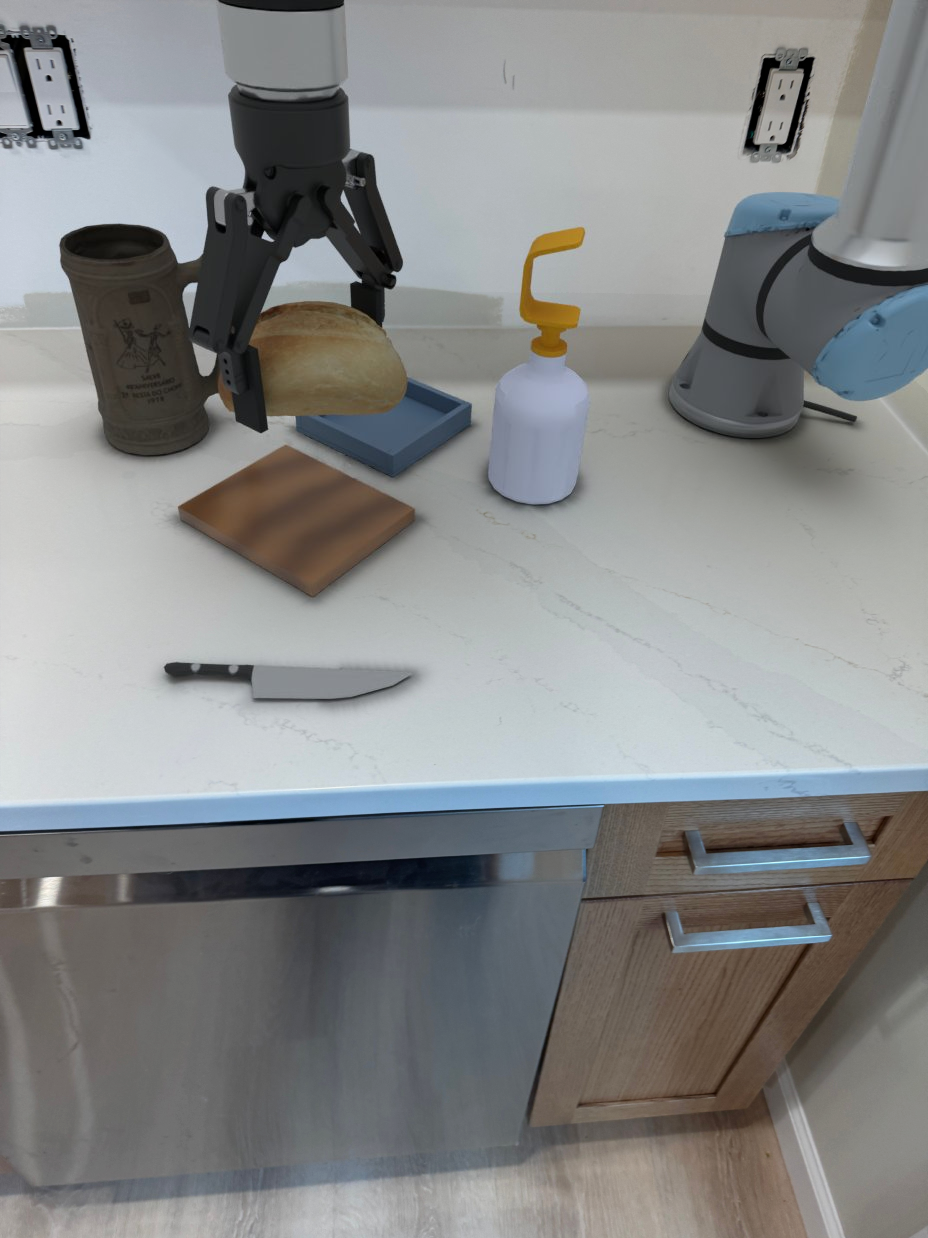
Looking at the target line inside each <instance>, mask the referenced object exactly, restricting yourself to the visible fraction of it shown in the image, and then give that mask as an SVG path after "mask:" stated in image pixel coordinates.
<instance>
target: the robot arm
mask: <svg viewBox="0 0 928 1238" xmlns="http://www.w3.org/2000/svg"><path fill="white" fill-rule="evenodd" d="M215 2H216V9H217V19H218V26H219V34H220V41H221V48H222V49H221V50H222V55H223V56H222V57H223V65H224V72H225V75H226V76H227V78H228V79H230V81H231V82H234V83H235V85H233V86H232V87H231V89H230V91H229V93H228V94H227V99H228V107H229V113H230V114H229V115H230V122H231V130H232V138H233V145H234V148H235V150H236V152H237V154H238V157H239V158H240V160H241V162H242V164H243V167H244V179H243V184H242V188H236V189H229V190H228V189H227V190H226V189H224V188H220V187H218V186H213V185H212V186H209V187H208V188H207V190H206V192H205V205H206V206H205V207H206V220H207V228H206V234H205V240H204V244H203V250H202V254H203V256H202V261H201V267H200V272H199V278H198V283H196V290H195V296H194V301H193V307H192V311H191V318H190V323H189V334H188V337H189V340H190V341H191V342H192V343H193V345H194V344H195V345H197V346H199V347H200V348H203V349H205V350H207V351H210V352H212V353H215V354H216V355H217V354H218V358H219V364H220V370H221V375H222V382H223V385H224V386H225V388H226V389H228V390H230V391H231V393H232V400H233V406H234V412H233V413H234V417H235V422H236V423H238V424H240V425H243V426H244V427H246V428H249V429H251V430H253V431H255V432H257V433H258V434H263V433H265V432H267V431H268V430H269V424H268V416H267V415H266V408H265V400H264V392H263V385H262V377H261V369H260V362H259V354H258V348H255V347H253V346H251V345H249V342H250V339H251V336H252V334H253V331H254V329H255V326H256V324H257V321H258V319H259V316H260V314H261V313H262V312H263V308H264V306H265V303H266V301H267V298H268V295H269V294H270V291H271V289H272V286H273V283H274V281H275V278H276V275H277V273H278V271H279V268H280V265H281V264H282V263H284V262H286V261H288V260H289V257H290V256H291V253H292V250H293V248H294V249H297V248H299V247H302V246H304V245H305V244H306V243H308V242H309V241H310V240H320V239H322V238H325V237H326V239H327V240H328V241H329V242H330V243H331V245H332V246H333V248H334V249H335V250H336V251H337V253H338V254H339V255H340V256H341V258H342V259H343V260H344V261H345V263H346V265H347V266H348V267H349V268H350V269H351V270H352V271H353V273H354V275H355V276H356V277H357V278H358V279H359V280H361V282H360V281H358V280H355V281H353V282H351V283H349V291H350V307H352V308H354V309H357V310H359V311H361V312H362V313H364V314H366V315H368V316H369V317H370V318H371V319H373V320H374V321H375V322H376V324H377V325H379V326H380V327H381V328H383V323H384V322H385V318H386V309H385V308H386V304H385V303H386V296H385V295H386V293H385V292H386V290H393V289H394V288H395V287H396V284H397V280H398V279H397V276H396V274H393V273H400V272H401V271H402V269H403V267H404V261H403V260H404V259H403V256H402V254H401V251H400V248H399V244H398V241H397V239H396V237H395V234H394V230H393V228H392V224H391V222H390V220H389V216H388V214H387V211H386V207H385V205H384V202H383V200H382V196H381V193H380V191H379V187H378V184H377V183H378V181H377V171H376V161H375V160H376V159H375V157H374V155H373V154H370V153H368V152H364V151H360V150H356V149H353V148H351V129H350V105H349V102H350V101H349V96H348V94H347V93H346V92H345V90H344V89H343V88H342V87H340V86H342V85H344V83H345V82H346V81H347V79H348V78H349V67H348V66H349V65H348V45H347V28H346V27H347V26H346V6H345V5H346V3H345V0H215ZM879 47H880V48H879V51H878V54H877V59H876V63H875V66H874V70H873V73H872V78H871V82H870V85H869V89H868V93H867V95H866V100H865V104H864V107H863V112H862V115H861V118H860V122H859V126H858V129H857V134H856V136H855V137H856V138H855V141H854V145H853V148H852V152H851V156H850V160H849V163H848V168H847V170H846V175H845V179H844V183H843V186H842V190H841V193H840V197H839V198H837V197H833V196H827V195H824V194H823V195H822V194H816V193H808V192H807V193H806V192H791V191H771V192H770V191H769V192H759V193H755V194H751V195H748V196H746V197H744V198H743V199H741V200H740V201H739V202H738V203H737V204H736V206H735V207H734V209H733V212H732V215H731V217H730V220H729V223H728V225H727V228H726V230H725V232H724V234H723V238H724V240H723V244H722V248H721V253H720V257H719V260H718V264H717V269H716V272H715V276H714V280H713V284H712V288H711V291H710V295H709V299H708V303H707V307H706V311H705V315H704V317H703V318H704V319H703V323H702V326H701V330H700V332H699V334H698V336H697V337H696V339H695V341H694V343H693V344H692V346H691V347H690V348H689V350H688V351H687V353H686V354H685V356H684V357H683V359H682V361H681V363H680V365H679V366H678V367H677V369H676V371H675V372H674V374H673V375H672V380H671V383H670V387H669V391H668V398H669V402H670V403H671V406H672V407H673V409H675V411H676V412H678V414H679V415H681V416H682V417H684V418H685V419H686V420H688V421H689V422H691V423H692V424H695V425H697V426H698V427H700V428H703V429H705V430H709V431H711V432H713V433H718V434H722V435H724V436H731V437H736V438H746V439H762V438H763V439H764V438H771V437H776V436H779V435H782V434H784V433H787V432H789V431H790V430H792V429H793V428H794V427H795V426H796V425H797V423H798V421H799V418H800V416H801V414H802V410H803V408H806V409H808V410H812V411H816V412H819V413H822V414H826V415H830V416H832V417H835V418H839V419H842V420H845V421H849V422H851V423H856V421H857V419H858V416H857V415H854V414H851V413H848V412H845V411H842V410H840V409H839V410H838V409H836V408H832V407H830V406H825V405H822V404H818V403H816V402H812V401H808V400H805V399H804V398H805V372H807V374H809V375H810V376H812V378H813V379H814V382H815V383H816V384H817V385H819V386H821V387H823V388H827V389H829V390H830V391H831V392H833V393H834V394H835V395H836V396H838V397H840V398H841V399H844V400H847V401H852V402H869V401H873V400H877V399H880V398H881V399H882V398H884V397H886V396H889V395H891V394H894V393H896V392H897V391H899V390H901V389H903V388H905V387H906V386H908V385H909V384H911V382H913V381H914V380H916V379H917V378H918V377H919V376H921V375H923V374H924V373H925V372H926V371H927V370H928V0H892V3H891V7H890V10H889V14H888V18H887V22H886V25H885V29H884V33H883V36H882V40H881V44H880V46H879ZM343 194H344V195H345V198H346V200H347V201H346V202H347V203H348V205H349V208H350V211H351V213H350V211H349V210H348V209H347V208H346V206H345V204H344V202H342V195H343ZM355 224H356V226H357V227H356V226H355ZM264 233H265V234H266V235H267V236H268V238H270V239H271V240H267V239H264V238H263V236H264ZM232 326H234V332H232V331H231V329H232Z"/></svg>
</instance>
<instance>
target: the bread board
mask: <svg viewBox="0 0 928 1238" xmlns="http://www.w3.org/2000/svg"><path fill="white" fill-rule="evenodd" d="M177 510H178V515H179V519H180V520H181V521H183V522H184V523H186V524H188V525H189V526H191V527H192V528H194V529H196V530H198V531H199V532H201V533H203V534H204V535H206V536H207V537H210V538H211V539H212V540H214V541H217V542H218V543H220V544H221V545H223V546H225V547H227V548H228V549H230V550H232V551H233V552H235V553H237V554H239V555H240V556H242V557H244V558H245V559H247V560H249V561H250V562H252V563H253V564H256V565H257V566H259V567H261V568H262V569H264V570H266V571H268V572H269V573H271V574H272V575H274V576H276V577H278V578H280V579H281V580H283V581H284V582H286V583H288V584H290V585H292V586H293V587H295V588H296V589H298V590H300V591H301V592H303V593H305V594H307V595H308V596H310V597H311V598H314V597H315V596H316V595H318V594H319V593H321V592H322V591H323V590H324V589H326V588H327V587H329V586H330V585H331V584H333V583H334V582H335V581H337V580H338V579H340V577H342V576H343V575H345V574H346V573H348V572H349V571H350V570H351V569H353V568H355V566H357V565H358V564H359V563H360V562H362V561H363V560H364V559H365V558H367V557H368V556H370V555H371V554H372V553H374V552H375V551H376V550H377V549H379V548H380V547H382V546H383V545H385V543H387V542H389V541H390V540H391V539H392V538H394V537H395V536H397V535H398V534H399V533H401V531H403V530H404V529H406V528H407V527H408V526H410V525H411V524H412V523H414V522H415V521H416V520H415V517H416V516H415V515H416V512H415V511H416V509H415V508H414V506H411V505H409V504H407V503H405V502H403V501H401V500H399V499H397V498H394V497H393V496H390V495H389V494H387V493H385V492H383V491H381V490H379V489H376V488H374V487H373V486H370V485H369V484H366V483H364V482H363V481H361V480H359V479H356V478H354V477H353V476H350V475H349V474H346V473H344V472H342V471H340V470H339V469H337V468H335V467H332V466H331V465H328V464H327V463H324V462H322V461H320V460H318V459H316V458H314V457H312V456H310V455H308V454H306V453H304V452H302V451H300V450H298V449H296V448H294V447H292V446H290V445H288V444H284V445H282V446H281V447H278V448H277V449H275V450H274V451H272V452H270V453H268V454H267V455H265V456H263V457H262V458H260V459H258V460H256V461H254V462H252V463H251V464H249V465H247V466H245V467H243V468H242V469H241V470H239V471H237V472H235V473H234V474H232V475H230V476H228V477H226V478H225V479H223V480H221V481H220V482H218V483H216V484H214V485H213V486H211V487H210V488H208V489H206V490H204V491H202V492H201V493H198V494H197V495H196V496H194V497H192V498H190V499H188V500H187V501H184V502H183V503H181V504H179V505H178V506H177Z"/></svg>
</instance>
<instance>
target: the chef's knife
mask: <svg viewBox="0 0 928 1238" xmlns="http://www.w3.org/2000/svg"><path fill="white" fill-rule="evenodd" d="M163 669H164V672H165V674H168V676H171V677H173V678H180V677H188V676H189V677H190V676H215V677H225V678H233V679H234V678H235V679H247V680H249V681H250V682H251V691H252V692H251V693H252V699H305V700H307V699H309V700H311V699H312V700H313V699H314V700H315V699H316V700H319V699H321V700H322V699H323V700H334V699H343V698H344V699H345V698H352V697H356V696H359V695H363V694H367V693H370V692H371V693H372V692H374V691H377V690H381V689H385V688H388V687H392V686H394V685H396V684H398V683H400V682H401V681H403V680H405V679H406V678H408V677H409V676H411V675H413V674H414V673H413V672H403V671H402V672H401V671H390V670H389V671H387V670H371V669H356V668H355V669H354V668H353V669H352V668H333V667H331V668H330V667H311V666H310V667H309V666H307V667H305V666H284V665H259V664H258V665H257V664H255V665H254V664H226V663H225V664H223V663H221V664H220V663H201V662H200V663H199V662H197V663H196V662H179V661H174V662H168V663H165V664H164V666H163Z"/></svg>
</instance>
